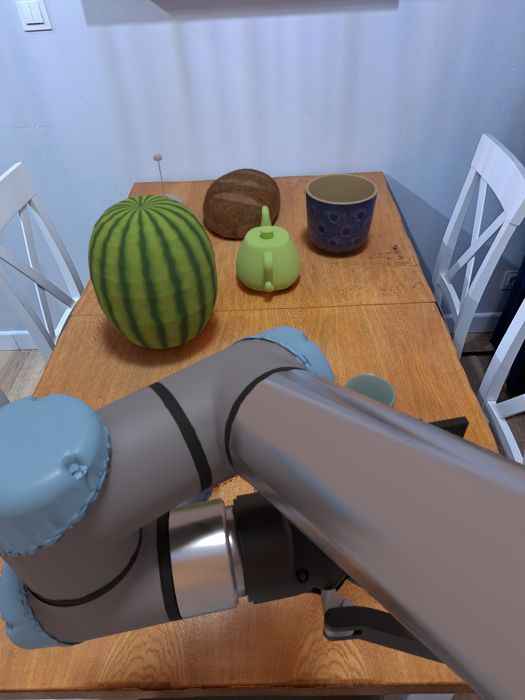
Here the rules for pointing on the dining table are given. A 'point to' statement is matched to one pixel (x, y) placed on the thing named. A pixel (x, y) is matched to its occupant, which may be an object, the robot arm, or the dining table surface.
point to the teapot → (268, 257)
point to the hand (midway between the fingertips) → (506, 496)
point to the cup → (373, 388)
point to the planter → (340, 211)
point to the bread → (240, 202)
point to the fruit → (153, 271)
